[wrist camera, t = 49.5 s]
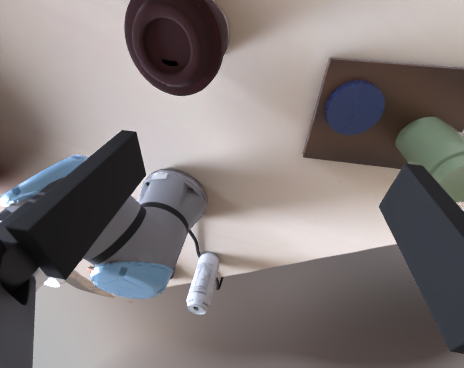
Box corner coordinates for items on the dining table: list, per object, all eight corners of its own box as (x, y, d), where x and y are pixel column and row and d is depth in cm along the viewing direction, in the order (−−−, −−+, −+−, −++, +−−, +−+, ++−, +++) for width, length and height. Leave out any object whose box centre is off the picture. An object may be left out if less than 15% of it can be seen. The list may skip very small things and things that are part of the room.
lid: (355, 67, 32) (359, 71, 30) (391, 100, 34) (397, 105, 32) (314, 111, 37) (315, 116, 35) (348, 138, 38) (351, 144, 37)
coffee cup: (197, -35, 29) (143, -60, 17) (254, 28, 32) (240, 43, 20) (160, 34, 34) (99, 51, 23) (211, 82, 38) (181, 119, 26)
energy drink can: (202, 262, 71) (187, 314, 59) (198, 250, 67) (181, 302, 55) (221, 264, 69) (210, 316, 58) (218, 251, 66) (205, 305, 54)
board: (428, 169, 41) (432, 172, 40) (302, 154, 43) (303, 157, 42) (498, 70, 31) (504, 72, 30) (329, 57, 33) (330, 58, 32)
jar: (431, 159, 38) (479, 208, 29) (387, 154, 39) (420, 200, 30) (459, 119, 34) (525, 162, 25) (408, 114, 35) (455, 154, 26)
